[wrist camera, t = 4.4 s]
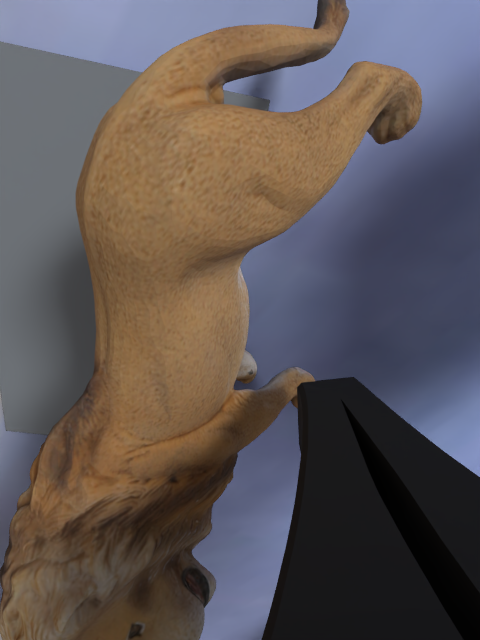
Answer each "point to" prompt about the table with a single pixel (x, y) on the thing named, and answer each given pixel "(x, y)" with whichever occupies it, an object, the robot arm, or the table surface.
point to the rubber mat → (49, 228)
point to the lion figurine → (177, 327)
